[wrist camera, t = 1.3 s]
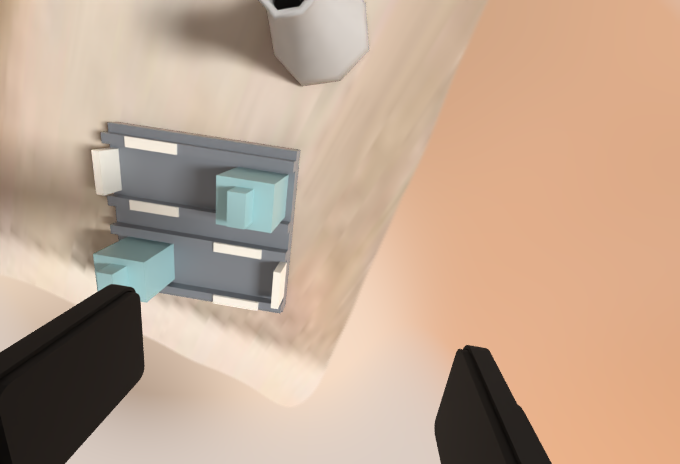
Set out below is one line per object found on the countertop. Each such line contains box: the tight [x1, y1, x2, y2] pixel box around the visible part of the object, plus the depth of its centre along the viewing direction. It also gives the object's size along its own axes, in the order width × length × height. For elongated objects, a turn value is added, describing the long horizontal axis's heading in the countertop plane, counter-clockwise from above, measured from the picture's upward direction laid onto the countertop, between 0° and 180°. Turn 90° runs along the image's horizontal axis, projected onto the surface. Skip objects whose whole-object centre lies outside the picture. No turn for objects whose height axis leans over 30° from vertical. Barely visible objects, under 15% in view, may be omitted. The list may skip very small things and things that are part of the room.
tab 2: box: [216, 167, 289, 233], centre depth 24 cm, size 4×4×6 cm
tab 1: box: [93, 236, 175, 302], centre depth 27 cm, size 4×4×6 cm
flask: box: [258, 0, 369, 86], centre depth 19 cm, size 7×7×10 cm
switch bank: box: [91, 122, 300, 313], centre depth 28 cm, size 14×15×3 cm
